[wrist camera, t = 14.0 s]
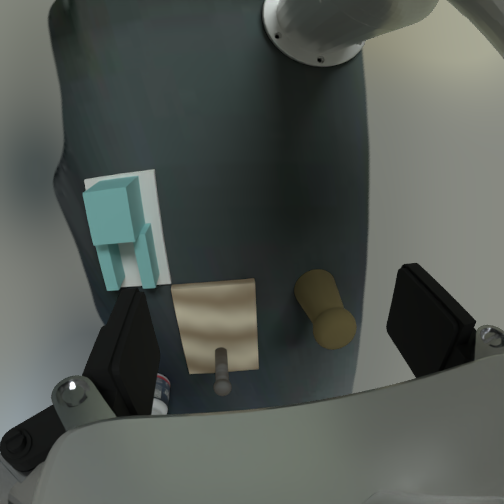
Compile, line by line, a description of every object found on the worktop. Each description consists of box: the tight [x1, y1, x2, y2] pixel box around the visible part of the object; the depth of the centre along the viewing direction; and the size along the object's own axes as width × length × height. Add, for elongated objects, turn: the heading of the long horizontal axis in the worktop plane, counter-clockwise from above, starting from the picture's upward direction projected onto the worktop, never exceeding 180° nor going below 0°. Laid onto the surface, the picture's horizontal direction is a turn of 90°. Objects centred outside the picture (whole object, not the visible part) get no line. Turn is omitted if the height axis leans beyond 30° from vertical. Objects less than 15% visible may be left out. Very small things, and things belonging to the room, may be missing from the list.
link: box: [83, 176, 160, 291], centre depth 36 cm, size 13×6×6 cm, turn 2°
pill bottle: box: [151, 373, 170, 415], centre depth 46 cm, size 5×5×9 cm
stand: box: [171, 278, 259, 396], centre depth 42 cm, size 16×11×10 cm
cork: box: [294, 269, 356, 350], centre depth 40 cm, size 6×6×11 cm
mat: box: [84, 169, 171, 287], centre depth 39 cm, size 15×9×1 cm, turn 2°
